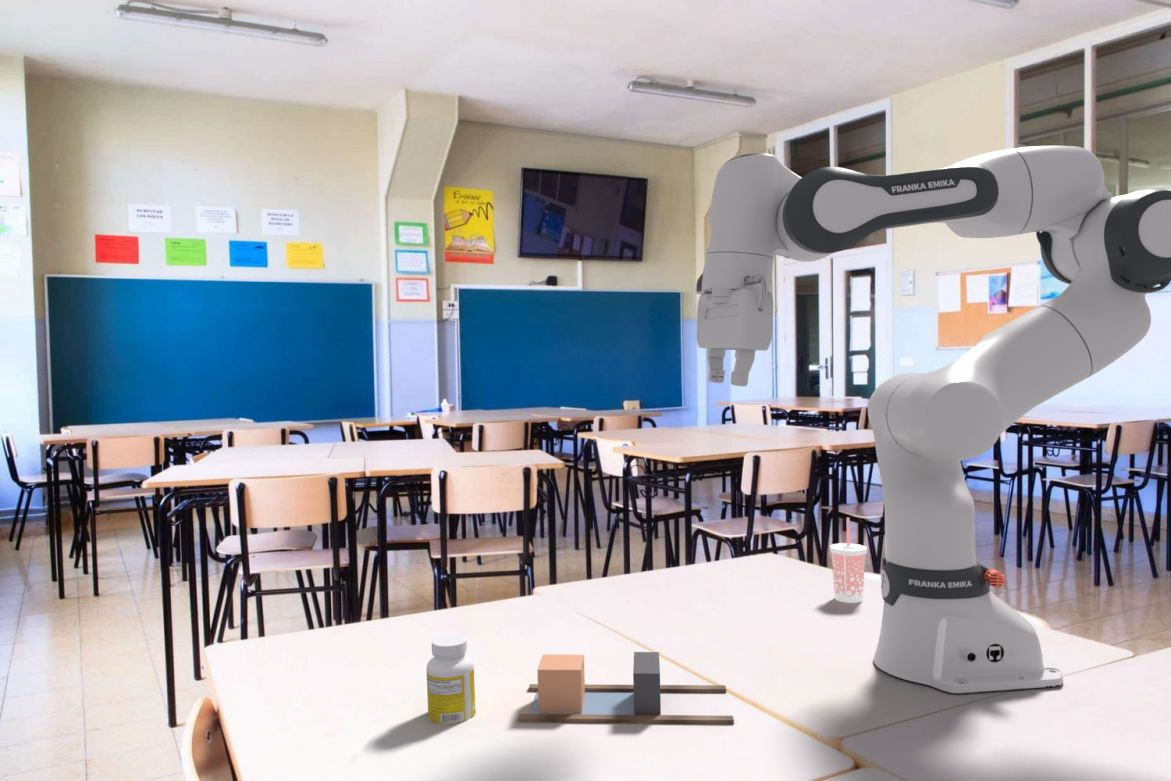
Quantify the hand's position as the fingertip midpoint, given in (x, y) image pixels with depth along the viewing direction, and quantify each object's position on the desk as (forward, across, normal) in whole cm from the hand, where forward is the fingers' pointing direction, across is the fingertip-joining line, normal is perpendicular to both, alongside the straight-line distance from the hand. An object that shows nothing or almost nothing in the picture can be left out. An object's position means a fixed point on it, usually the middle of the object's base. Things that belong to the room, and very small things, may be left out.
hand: (726, 384), depth 111 cm
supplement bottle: (+42, -11, +32) cm, 54 cm away
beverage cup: (+35, +26, -34) cm, 56 cm away
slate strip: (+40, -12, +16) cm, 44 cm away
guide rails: (+39, -12, +12) cm, 43 cm away
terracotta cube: (+39, -11, +20) cm, 45 cm away
